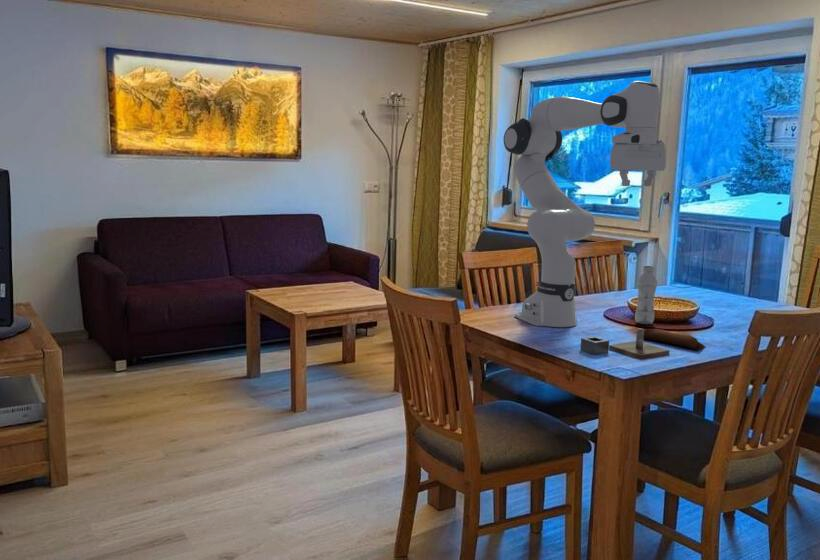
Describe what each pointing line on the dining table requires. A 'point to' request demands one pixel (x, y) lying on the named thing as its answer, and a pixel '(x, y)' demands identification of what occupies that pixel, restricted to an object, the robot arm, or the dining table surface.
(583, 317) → the dining table surface
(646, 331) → the brown tapered cylinder
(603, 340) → the ring
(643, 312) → the plastic bottle
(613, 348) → the rod on square base
